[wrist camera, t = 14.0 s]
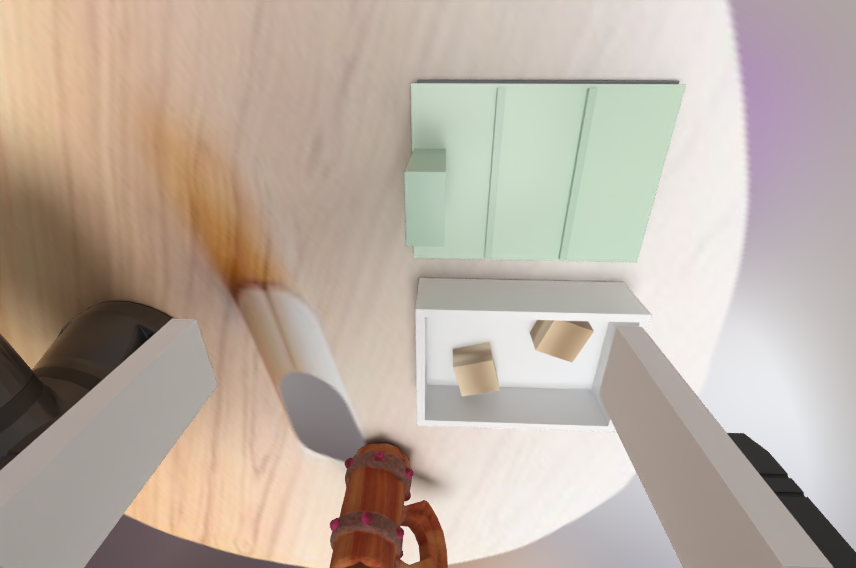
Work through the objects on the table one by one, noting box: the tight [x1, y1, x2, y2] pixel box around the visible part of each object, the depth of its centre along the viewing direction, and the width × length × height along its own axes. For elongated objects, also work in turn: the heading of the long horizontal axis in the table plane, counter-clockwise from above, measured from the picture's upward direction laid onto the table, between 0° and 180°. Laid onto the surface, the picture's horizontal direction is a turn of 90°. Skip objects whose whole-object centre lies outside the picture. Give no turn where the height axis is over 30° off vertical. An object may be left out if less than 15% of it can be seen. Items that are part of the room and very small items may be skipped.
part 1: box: [453, 342, 500, 396], centre depth 41 cm, size 4×4×3 cm
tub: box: [415, 278, 652, 432], centre depth 39 cm, size 20×14×6 cm
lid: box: [404, 83, 686, 262], centre depth 29 cm, size 21×15×10 cm
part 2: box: [530, 320, 594, 362], centre depth 39 cm, size 4×4×3 cm
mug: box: [330, 443, 448, 568], centre depth 46 cm, size 15×8×15 cm, turn 54°
